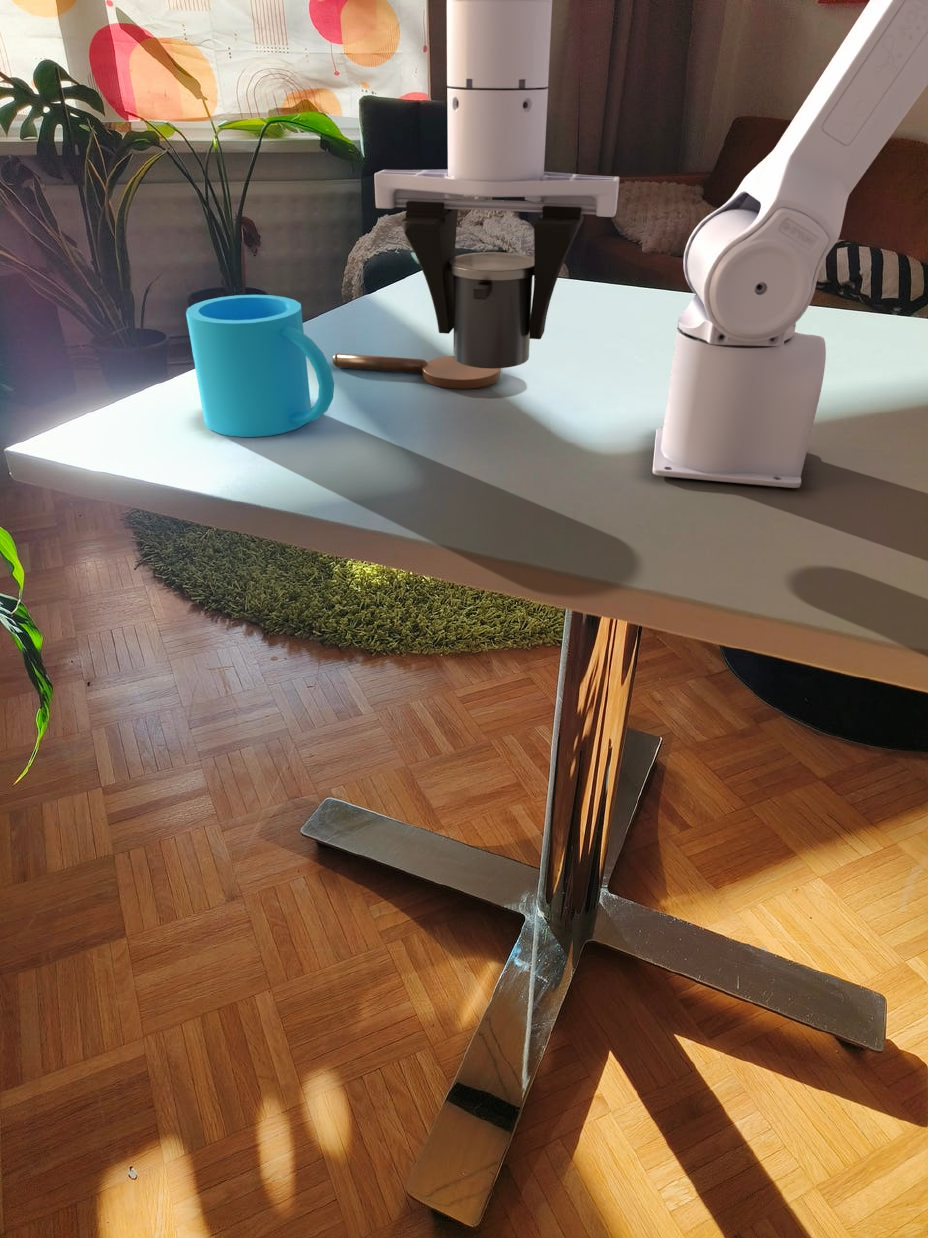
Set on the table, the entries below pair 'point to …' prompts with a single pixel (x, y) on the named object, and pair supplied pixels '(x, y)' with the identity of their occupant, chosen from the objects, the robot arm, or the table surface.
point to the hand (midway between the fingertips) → (492, 332)
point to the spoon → (425, 369)
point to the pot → (491, 308)
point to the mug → (255, 365)
